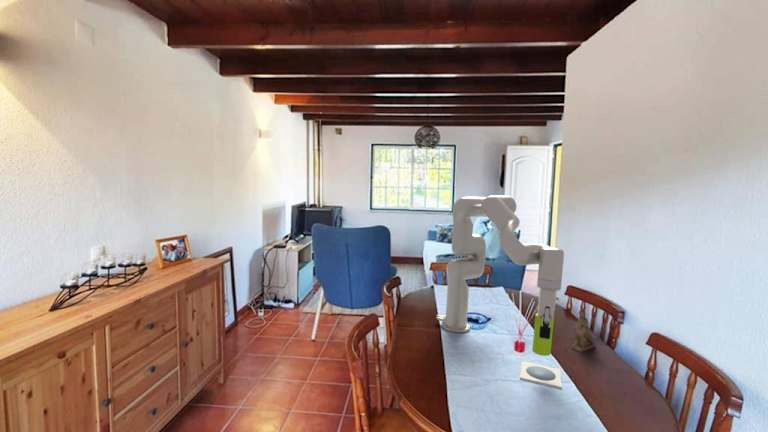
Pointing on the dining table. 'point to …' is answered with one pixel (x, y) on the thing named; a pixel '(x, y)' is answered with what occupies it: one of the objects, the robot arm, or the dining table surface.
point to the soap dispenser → (542, 344)
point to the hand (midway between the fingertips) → (544, 333)
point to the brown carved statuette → (582, 334)
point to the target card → (541, 374)
